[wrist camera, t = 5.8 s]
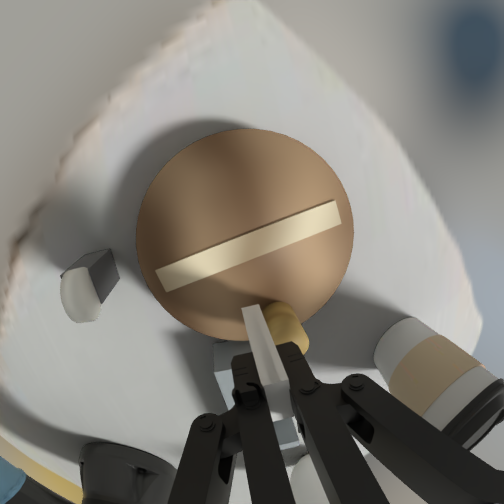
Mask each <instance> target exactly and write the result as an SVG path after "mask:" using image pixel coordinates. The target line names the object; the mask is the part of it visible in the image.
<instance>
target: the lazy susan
mask: <svg viewBox="0 0 504 504" xmlns="http://www.w3.org/2000/svg"><path fill="white" fill-rule="evenodd" d="M353 237H354V228H353V217H352V211H351V206H350V203H349V200H348V197H347V194H346V192H345V190H344V188H343V185H342V183H341V181H340V180H339V178H338V177H337V175H336V174H335V172H334V171H333V169H332V168H331V167H330V166H329V165H328V164H327V163H326V162H325V160H324V159H323V158H322V157H320V156H319V155H318V154H317V153H316V152H314V151H313V150H312V149H311V148H309V147H307V146H306V145H304V144H303V143H301V142H299V141H297V140H295V139H293V138H290V137H288V136H286V135H283V134H279V133H276V132H272V131H267V130H259V129H236V130H230V131H223V132H220V133H216V134H213V135H210V136H207V137H205V138H203V139H200V140H198V141H196V142H194V143H192V144H191V145H189V146H188V147H186V148H185V149H183V150H182V151H180V152H179V153H177V154H176V155H175V156H174V157H173V158H172V159H171V160H170V161H168V162H167V163H166V165H165V166H164V167H163V168H162V169H161V170H160V172H159V173H158V174H157V175H156V177H155V178H154V180H153V182H152V183H151V185H150V186H149V188H148V190H147V192H146V195H145V197H144V199H143V201H142V204H141V208H140V211H139V215H138V220H137V228H136V249H137V255H138V261H139V264H140V268H141V271H142V274H143V276H144V279H145V281H146V283H147V285H148V287H149V289H150V290H151V292H152V294H153V295H154V297H155V298H156V299H157V301H158V302H159V303H160V304H161V305H162V307H163V308H164V309H165V310H166V311H167V312H169V313H170V314H171V315H172V316H173V317H174V318H176V319H177V320H178V321H180V322H181V323H183V324H184V325H186V326H188V327H189V328H191V329H193V330H195V331H197V332H200V333H203V334H205V335H208V336H212V337H215V338H219V339H226V340H235V341H248V340H249V338H248V334H247V330H246V326H245V322H244V318H243V313H242V309H241V308H244V307H248V306H252V305H257V304H259V306H260V309H261V311H262V314H263V316H264V319H265V321H266V324H267V327H268V329H269V332H270V334H271V337H272V339H273V342H274V344H275V345H279V344H283V343H286V342H290V341H292V342H294V343H295V344H297V345H298V346H299V348H300V350H301V352H302V354H303V355H304V354H305V353H306V351H307V349H308V347H309V339H308V337H307V335H306V333H305V331H304V329H303V327H302V325H301V323H303V322H305V321H306V320H307V319H309V318H310V317H311V316H313V315H314V314H315V313H316V312H317V311H318V310H319V309H321V308H322V307H323V306H324V305H325V304H326V302H327V301H328V300H329V299H330V297H331V296H332V295H333V294H334V292H335V291H336V289H337V287H338V286H339V284H340V283H341V281H342V278H343V276H344V274H345V272H346V270H347V267H348V264H349V261H350V257H351V252H352V247H353Z"/></svg>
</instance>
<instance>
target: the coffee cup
mask: <svg viewBox="0 0 504 504" xmlns="http://www.w3.org/2000/svg"><path fill="white" fill-rule="evenodd" d="M374 363H375V365H376V366H377V368H378V370H379V372H380V373H381V375H382V377H383V378H384V380H385V382H386V383H387V385H388V387H389V391H390V393H391V395H393V396H394V397H395V398H397V399H398V400H399V401H401V402H402V403H403V404H405V405H406V406H407V407H409V408H410V409H411V410H413V411H414V412H415V413H417V414H418V415H419V416H421V417H422V418H423V419H425V420H426V421H428V422H429V423H430V424H432V425H433V426H434V427H436V428H437V429H439V430H440V431H441V432H443V433H444V434H445V435H447V436H448V437H450V438H451V439H452V440H454V441H455V442H457V443H458V444H460V445H461V446H462V447H464V448H465V449H467V450H468V451H470V450H472V449H473V448H474V447H475V446H476V445H477V444H478V443H479V442H480V441H481V440H482V439H483V438H484V437H485V436H486V435H487V434H488V433H489V432H490V431H491V430H492V429H493V427H494V426H495V425H497V424H499V423H501V422H502V421H503V420H504V380H503V379H498V378H497V377H495V376H494V375H493V374H491V373H490V372H489V371H488V370H486V368H485V366H484V365H483V364H481V363H480V362H479V361H477V360H476V359H475V358H473V357H472V356H471V355H469V354H468V353H466V352H465V351H464V350H462V349H461V348H460V347H458V346H457V345H455V344H454V343H453V342H451V341H450V340H448V339H447V338H446V337H444V336H442V335H439V334H438V333H437V332H435V331H434V330H432V329H431V328H430V327H428V326H427V325H425V324H424V323H423V322H421V321H420V320H418V319H417V318H406V319H403V320H401V321H399V322H397V323H396V324H394V325H393V326H392V327H391V328H389V329H388V330H387V331H386V332H385V334H384V335H383V336H382V337H381V339H380V340H379V342H378V344H377V346H376V348H375V351H374Z"/></svg>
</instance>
